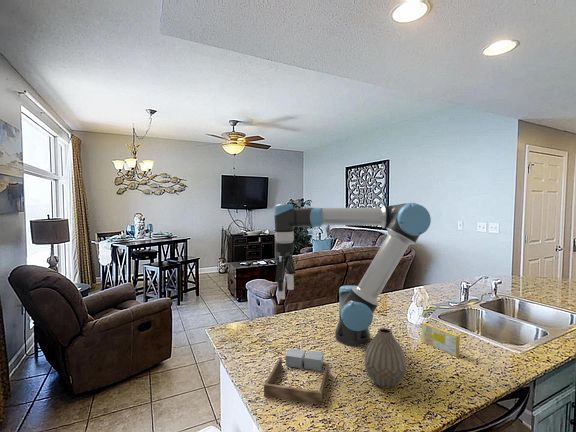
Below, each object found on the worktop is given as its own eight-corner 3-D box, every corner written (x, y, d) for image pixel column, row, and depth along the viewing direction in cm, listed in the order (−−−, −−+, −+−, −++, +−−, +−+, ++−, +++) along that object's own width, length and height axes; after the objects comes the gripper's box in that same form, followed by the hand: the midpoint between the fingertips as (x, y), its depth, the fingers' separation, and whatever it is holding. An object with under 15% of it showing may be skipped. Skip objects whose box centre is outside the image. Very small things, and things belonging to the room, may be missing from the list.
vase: (400, 399, 94) (401, 342, 93) (358, 386, 100) (359, 333, 100) (409, 378, 105) (409, 327, 104) (371, 368, 112) (371, 320, 111)
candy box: (459, 356, 120) (460, 335, 120) (456, 357, 119) (456, 336, 119) (424, 340, 134) (424, 321, 134) (420, 341, 133) (421, 322, 133)
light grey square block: (323, 363, 116) (323, 352, 115) (320, 371, 110) (320, 360, 110) (308, 360, 117) (308, 350, 117) (304, 368, 112) (304, 357, 111)
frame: (328, 373, 108) (328, 363, 108) (321, 405, 91) (321, 393, 91) (279, 366, 113) (279, 357, 112) (264, 396, 95) (263, 384, 95)
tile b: (305, 360, 117) (305, 350, 117) (301, 368, 112) (301, 357, 111) (290, 358, 119) (289, 348, 119) (285, 366, 113) (285, 355, 113)
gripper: (284, 238, 138) (285, 285, 139) (265, 246, 114) (267, 302, 115) (300, 238, 136) (302, 286, 137) (285, 246, 112) (286, 304, 113)
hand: (286, 294), depth 126 cm, fingers open, 13 cm apart
